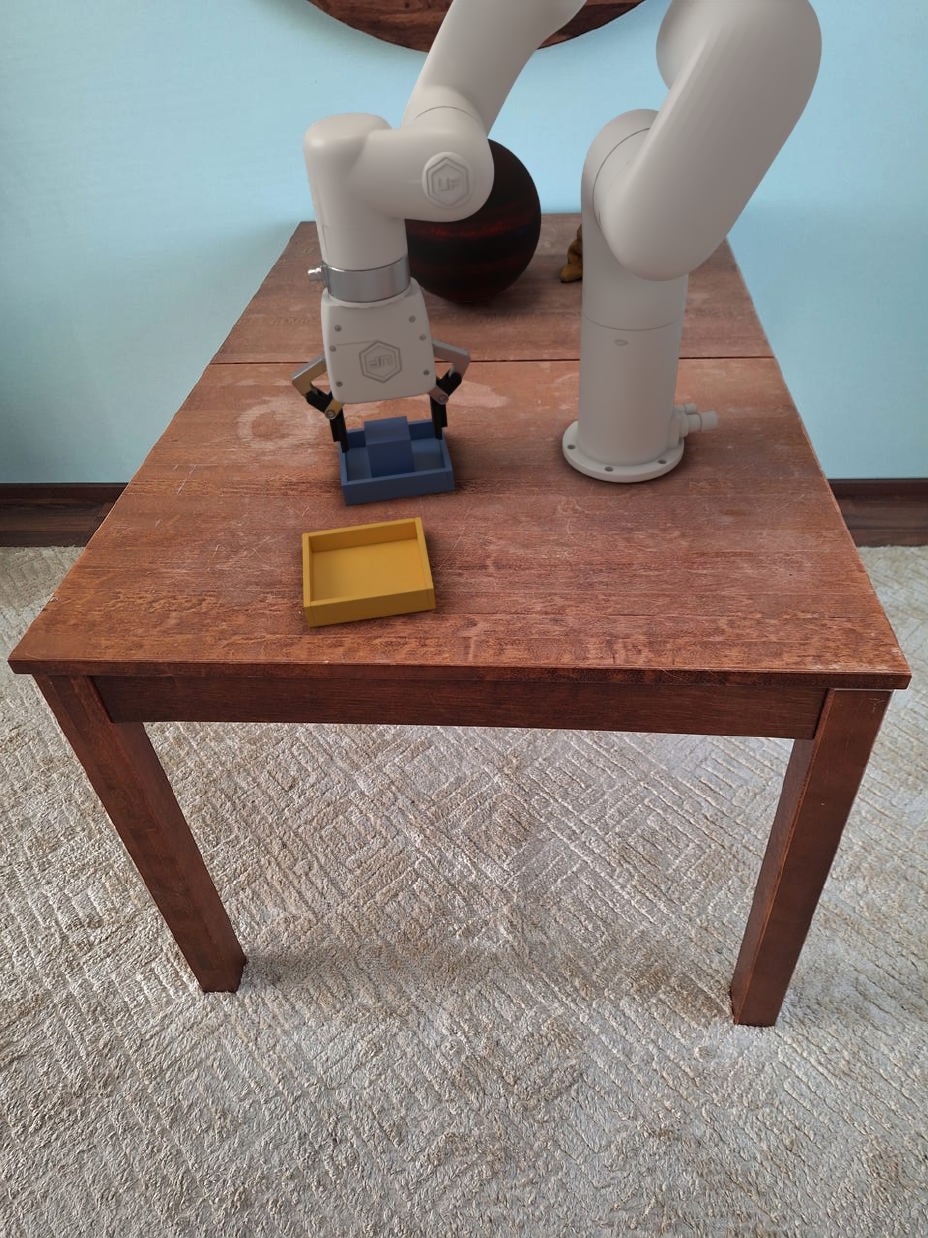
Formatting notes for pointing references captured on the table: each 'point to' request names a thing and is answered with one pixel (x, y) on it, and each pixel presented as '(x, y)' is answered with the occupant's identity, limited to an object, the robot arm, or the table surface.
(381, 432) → the blue block
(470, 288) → the decorative orb
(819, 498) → the table surface
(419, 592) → the mustard tray
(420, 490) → the blue tray
